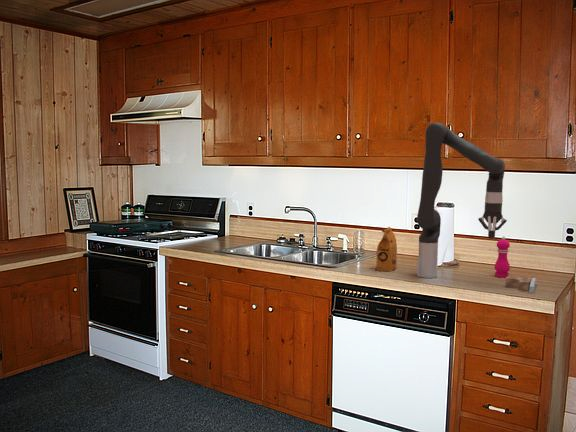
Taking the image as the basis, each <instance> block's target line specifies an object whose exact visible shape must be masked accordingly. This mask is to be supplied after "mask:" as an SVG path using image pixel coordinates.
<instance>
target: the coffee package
mask: <svg viewBox="0 0 576 432" xmlns="http://www.w3.org/2000/svg"><path fill="white" fill-rule="evenodd" d="M381 232H382V233H384V234H382V238H381V240H380V241H379V242H378V244H377V248H376V267H375V268H376V270H377V271H378V272H379V271H380V272H386V273H389V272H392V271H396V269H397V265H398V264H397V259H398V258H397V255H398V247H397V237H396V235H395V233H394V231H393V230H392V228H391V227H390V226H387V228H383V229H382V230H381Z"/></svg>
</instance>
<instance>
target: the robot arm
mask: <svg viewBox="0 0 576 432" xmlns="http://www.w3.org/2000/svg"><path fill="white" fill-rule="evenodd" d="M443 145H445V146H448V147H450V148H452V149H454V151H456V152H458V153H459V154H460V155H461V156H462V157H464V158H465V159H467V160H468V161H471V162H473V163H474V164H476V165H478V166H479V167H481V168H482V169H484V170H485V171H486V172H487V173H488V179H487V181H486V189H485V196H484V210H483V211H484V212H483V214H482V216H481V217H478V218H477V219H478V221H479V223H480V224H481V226H482V227H483V228H484V230H487V232H488V234H487V235H488V236H487V237H488V238H489V240H493V239H494V238H496V231H498V230H500V229H501V228H502V227H503V226H504V225H505V224H506V223H507V222H508V219H506V218H504V217H503V216H504V215H503V213H502V212H503V211H502V210H503V187H504V185H503V184H504V183H503V182H504V177H505V170H506V164H505V162H504V160H502V159H501V158H497V157H495V156H493V155H491V154H490V153H488V152H486V150H484V149H483V148H481V147H479V146H477V145H475V144H474V143H472V142H469V141H467V140H466V139H464V138H462V137H460V136H459V135H457V134H456V133H455V132H453V131H452V130H451V129H450V128H449V127H448V126H446V124H444V123H442V122H432V123H430V124H429V125H428V126H427V127H426V129H425V153H424V160H423V167H422V168H423V169H422V176H421V179H422V180H421V189H420V201H419V204H418V205H419V206H418V211H417V216H416V222H417V225H418V227H420V229H421V233H420V234H419V236H418V256H417V258H416V261H417V262H416V276H417V277H421V278H425V279H426V278H430V279H431V278H432V279H433V278H434V279H435V278H437V277H438V259H439V257H438V254H439V253H438V252H439V251H438V250H439V238H440V234H441V225H442V224H441V221H442V220H441V219H442V218H441V215H440V212H439V211H438V210H436V209H435V203H436V198H437V196H438V194H439V192H440V189H441V187H442V181H443V162H442V146H443ZM485 221H486V222H485ZM499 222H500V224H499V225H498V223H499ZM497 225H498V226H497Z"/></svg>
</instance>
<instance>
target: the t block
mask: <svg viewBox="0 0 576 432" xmlns="http://www.w3.org/2000/svg"><path fill="white" fill-rule="evenodd" d="M531 281H532V278H531V277H530V276H524V275H523V276H520V277H516V276H509V277H508V276H507V277H506V278H505V285H504V286H505V288H511V289H513V288H514V289H518V291H521V292H529V288H530V284H531Z"/></svg>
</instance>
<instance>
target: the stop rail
mask: <svg viewBox="0 0 576 432" xmlns="http://www.w3.org/2000/svg"><path fill="white" fill-rule="evenodd" d="M536 282H537V278H536V277H532V278H531V281H530V288H529V290H528V293H529V294H534V291H535V287H536V284H537V283H536Z"/></svg>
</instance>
